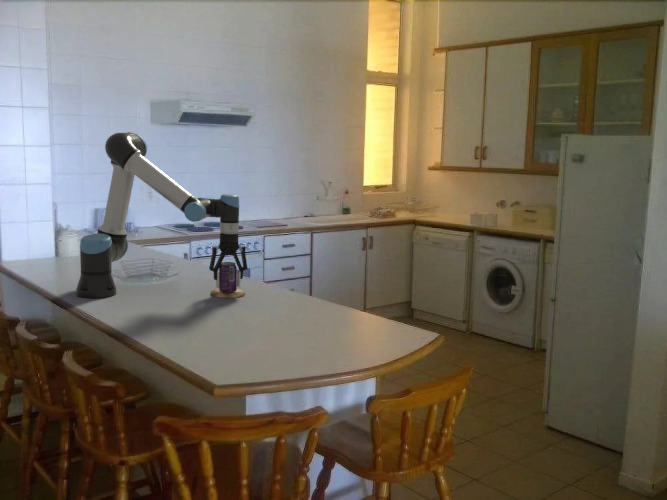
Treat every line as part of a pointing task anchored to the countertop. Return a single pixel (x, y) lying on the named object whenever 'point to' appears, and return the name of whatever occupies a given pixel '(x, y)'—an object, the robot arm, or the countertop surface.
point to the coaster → (227, 294)
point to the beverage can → (227, 277)
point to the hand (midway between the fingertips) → (228, 286)
